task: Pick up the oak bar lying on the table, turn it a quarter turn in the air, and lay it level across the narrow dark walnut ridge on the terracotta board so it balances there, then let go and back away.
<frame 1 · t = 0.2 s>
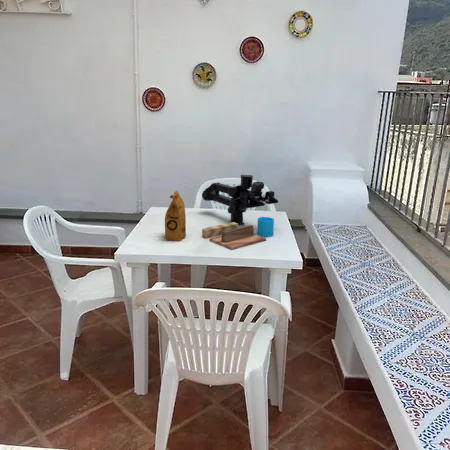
hand: (271, 203, 216), 17 cm above the table, tool horizontal, fingers open, 9 cm apart
mug: (265, 234, 224), on the table
coffee package: (175, 237, 214), on the table
fulcrum stand: (237, 240, 211), on the table
oak bar: (220, 234, 221), on the table
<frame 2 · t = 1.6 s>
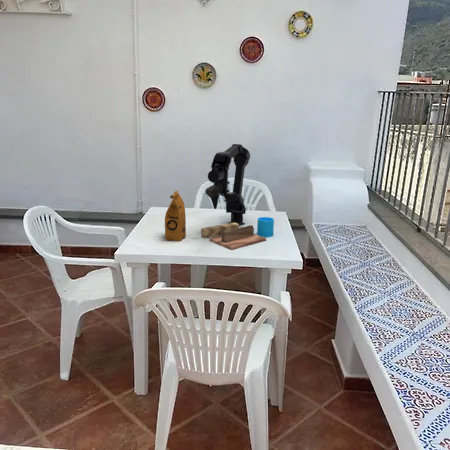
hand: (221, 210, 217), 12 cm above the table, tool pointing down, fingers open, 9 cm apart
nothing on the table moved.
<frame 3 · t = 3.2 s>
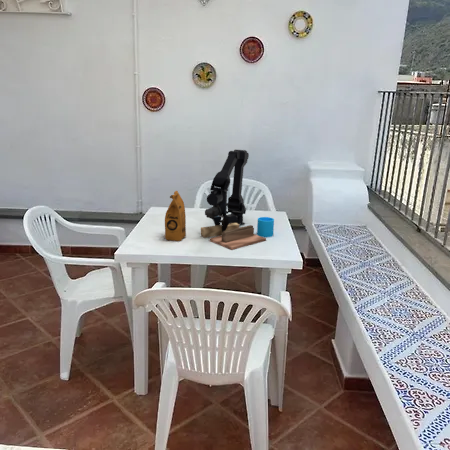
hand: (220, 231, 220), 1 cm above the table, tool pointing down, fingers closed on oak bar, 4 cm apart
oak bar: (220, 234, 221), on the table, touching gripper
everything else where it was.
when the fingers open (8 cm above the table, at t = 8.9 s): oak bar stays where it is, resting on fulcrum stand.
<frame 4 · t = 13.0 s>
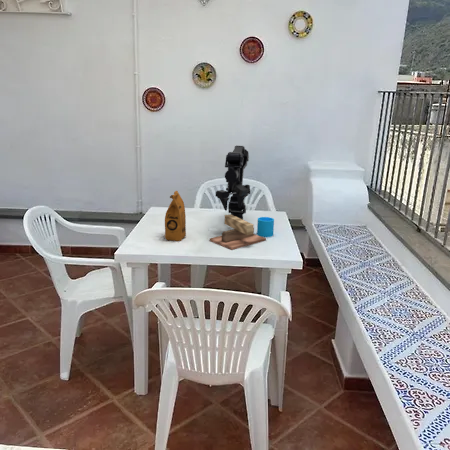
hand: (232, 209, 221), 12 cm above the table, tool pointing down, fingers open, 9 cm apart
oak bar: (238, 228, 210), point 6 cm above the table, touching fulcrum stand
everything else where it was.
at the end: oak bar 0.1 cm off-centre on the fulcrum stand, point 6.0 cm above the fulcrum stand's base; oak bar tilted 0°; the gripper is holding nothing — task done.
